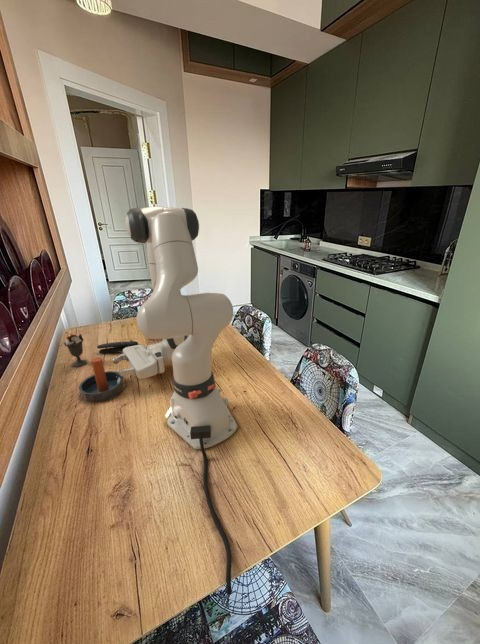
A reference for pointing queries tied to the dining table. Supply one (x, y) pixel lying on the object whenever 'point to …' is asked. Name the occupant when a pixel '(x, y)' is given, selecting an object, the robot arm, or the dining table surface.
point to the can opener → (116, 346)
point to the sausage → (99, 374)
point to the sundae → (75, 348)
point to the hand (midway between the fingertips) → (116, 367)
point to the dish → (93, 395)
